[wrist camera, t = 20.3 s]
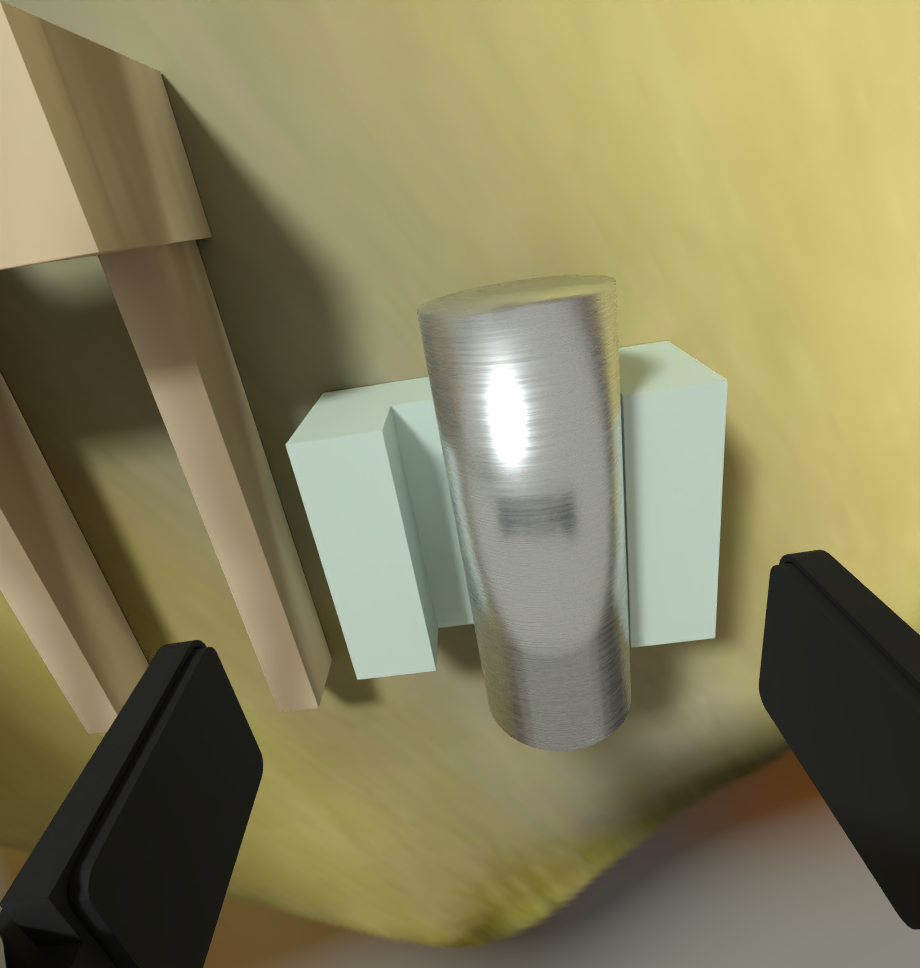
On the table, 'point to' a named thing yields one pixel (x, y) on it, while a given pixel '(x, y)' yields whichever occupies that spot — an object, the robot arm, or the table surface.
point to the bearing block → (163, 356)
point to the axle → (538, 497)
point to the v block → (431, 524)
